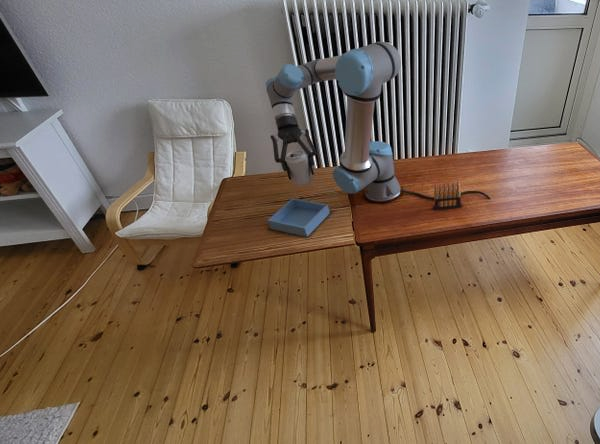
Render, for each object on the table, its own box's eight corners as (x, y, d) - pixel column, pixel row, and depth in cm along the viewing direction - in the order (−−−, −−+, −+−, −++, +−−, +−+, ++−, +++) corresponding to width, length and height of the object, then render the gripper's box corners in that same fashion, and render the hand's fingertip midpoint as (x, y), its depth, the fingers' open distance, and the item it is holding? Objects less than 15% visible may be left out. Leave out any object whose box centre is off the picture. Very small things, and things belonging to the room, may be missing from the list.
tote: (330, 212, 151) (327, 204, 148) (307, 236, 139) (304, 228, 137) (295, 206, 155) (292, 198, 152) (270, 228, 143) (267, 220, 141)
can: (295, 177, 146) (287, 149, 138) (315, 175, 146) (307, 148, 139) (291, 187, 140) (281, 159, 133) (311, 186, 140) (303, 157, 133)
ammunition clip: (460, 204, 153) (460, 179, 146) (460, 207, 152) (461, 182, 144) (434, 207, 152) (433, 182, 145) (435, 209, 151) (433, 184, 143)
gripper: (314, 118, 146) (329, 173, 145) (259, 127, 140) (274, 185, 139) (312, 109, 139) (328, 167, 137) (254, 119, 133) (270, 179, 131)
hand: (301, 176), depth 138 cm, fingers closed on can, 7 cm apart
